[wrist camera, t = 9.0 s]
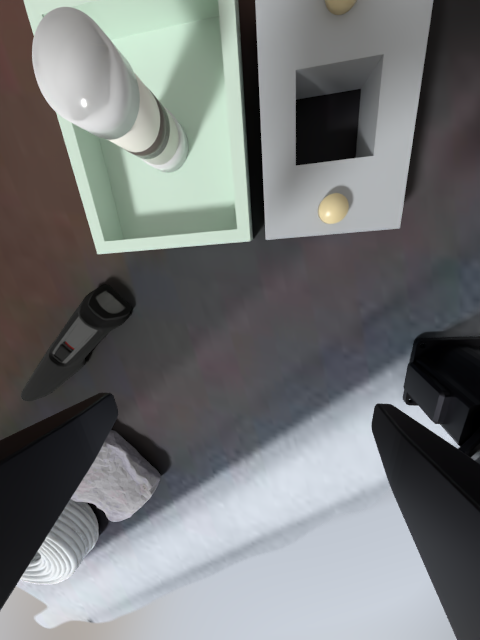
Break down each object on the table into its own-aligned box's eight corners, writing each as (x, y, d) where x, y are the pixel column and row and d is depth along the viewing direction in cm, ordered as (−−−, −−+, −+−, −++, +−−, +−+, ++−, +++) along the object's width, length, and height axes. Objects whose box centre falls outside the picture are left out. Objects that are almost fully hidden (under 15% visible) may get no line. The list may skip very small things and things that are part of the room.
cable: (19, 445, 31) (-37, 493, 25) (126, 512, 34) (98, 569, 28) (-18, 498, 37) (-69, 547, 31) (76, 552, 40) (44, 605, 34)
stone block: (99, 403, 29) (58, 457, 30) (73, 430, 24) (27, 492, 26) (178, 451, 31) (136, 499, 32) (169, 484, 26) (121, 538, 28)
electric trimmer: (33, 370, 26) (3, 388, 23) (106, 280, 21) (79, 288, 18) (61, 392, 27) (35, 412, 24) (138, 310, 22) (117, 322, 19)
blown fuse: (184, 112, 15) (101, -4, 8) (192, 169, 16) (126, 117, 9) (138, 120, 15) (18, 18, 8) (149, 175, 17) (51, 130, 9)
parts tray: (238, 1, 13) (230, -60, 11) (253, 239, 18) (250, 241, 15) (68, 40, 15) (22, -4, 12) (122, 250, 19) (97, 254, 17)
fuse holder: (405, -11, 12) (455, -99, 9) (378, 228, 17) (405, 228, 13) (256, 21, 14) (253, -47, 10) (266, 238, 18) (265, 240, 14)
